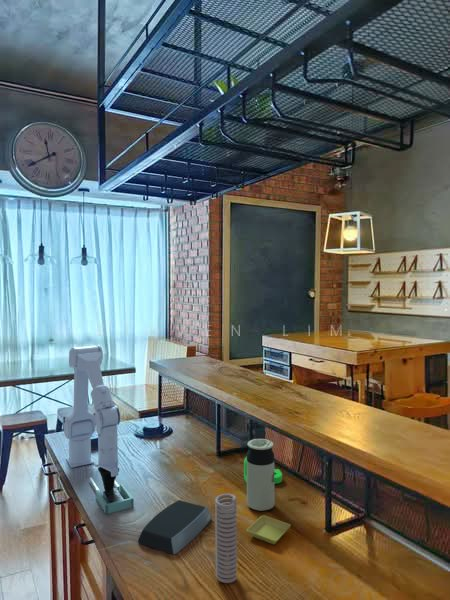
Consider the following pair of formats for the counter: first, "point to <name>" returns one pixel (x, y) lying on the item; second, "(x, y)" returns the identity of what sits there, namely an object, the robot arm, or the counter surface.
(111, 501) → the block
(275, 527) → the saucer
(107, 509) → the tray
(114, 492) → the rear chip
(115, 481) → the slot guide
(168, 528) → the external hard drive
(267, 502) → the travel mug
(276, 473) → the mechanical part
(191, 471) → the counter surface
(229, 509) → the coil
